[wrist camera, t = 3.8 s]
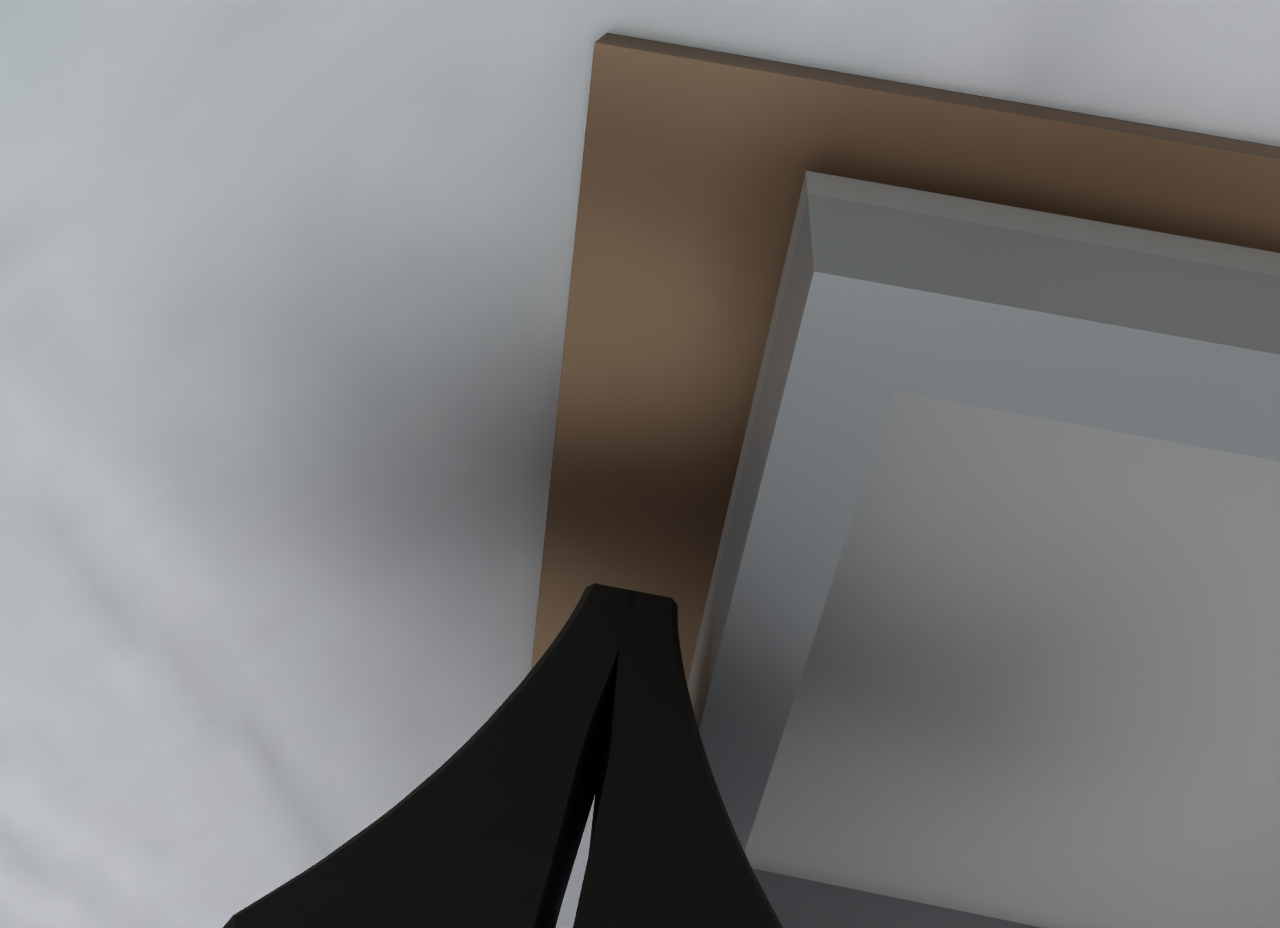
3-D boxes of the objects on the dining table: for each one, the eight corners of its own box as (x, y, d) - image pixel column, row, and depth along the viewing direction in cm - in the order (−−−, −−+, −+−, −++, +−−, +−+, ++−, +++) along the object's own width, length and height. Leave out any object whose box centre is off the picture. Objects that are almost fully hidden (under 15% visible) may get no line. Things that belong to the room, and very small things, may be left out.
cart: (1235, 888, 19) (1365, 1175, 15) (660, 772, 19) (626, 1017, 15) (1723, 301, 12) (2237, 525, 8) (804, 141, 12) (812, 272, 8)
